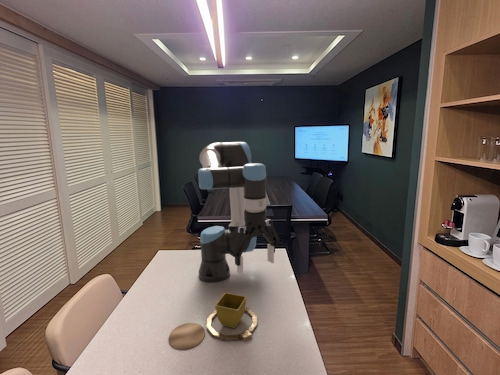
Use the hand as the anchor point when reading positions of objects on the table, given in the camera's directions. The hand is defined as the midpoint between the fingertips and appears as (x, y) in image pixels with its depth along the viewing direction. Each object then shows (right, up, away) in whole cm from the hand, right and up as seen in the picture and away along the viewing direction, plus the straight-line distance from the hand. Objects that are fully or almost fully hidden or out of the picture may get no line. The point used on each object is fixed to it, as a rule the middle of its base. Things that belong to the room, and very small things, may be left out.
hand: (256, 267), depth 100 cm
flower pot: (-9, -21, +3) cm, 23 cm away
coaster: (-24, -23, -3) cm, 33 cm away
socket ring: (-9, -21, +3) cm, 23 cm away
